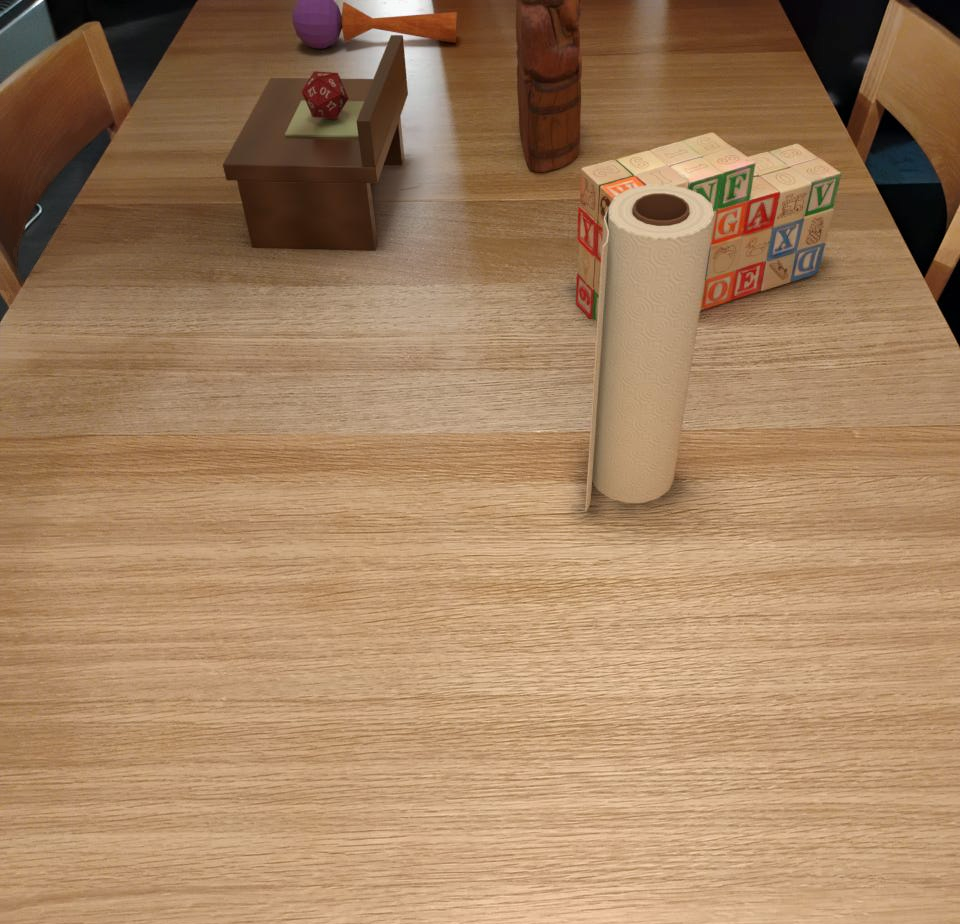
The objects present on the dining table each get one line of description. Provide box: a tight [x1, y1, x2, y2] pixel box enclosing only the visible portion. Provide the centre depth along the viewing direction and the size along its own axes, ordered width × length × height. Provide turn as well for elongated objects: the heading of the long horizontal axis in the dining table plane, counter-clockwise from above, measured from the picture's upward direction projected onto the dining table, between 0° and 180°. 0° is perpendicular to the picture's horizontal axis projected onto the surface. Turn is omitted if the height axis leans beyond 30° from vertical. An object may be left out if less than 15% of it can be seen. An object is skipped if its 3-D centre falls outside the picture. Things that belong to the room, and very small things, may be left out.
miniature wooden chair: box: [222, 34, 409, 251], centre depth 96 cm, size 14×18×12 cm
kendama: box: [291, 0, 458, 50], centre depth 123 cm, size 6×6×20 cm
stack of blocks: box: [575, 132, 842, 320], centre depth 84 cm, size 21×6×12 cm, turn 114°
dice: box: [301, 70, 349, 119], centre depth 93 cm, size 4×4×4 cm
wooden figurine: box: [515, 0, 583, 173], centre depth 99 cm, size 12×6×18 cm, turn 3°
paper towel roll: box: [584, 185, 714, 512], centre depth 65 cm, size 7×6×21 cm
